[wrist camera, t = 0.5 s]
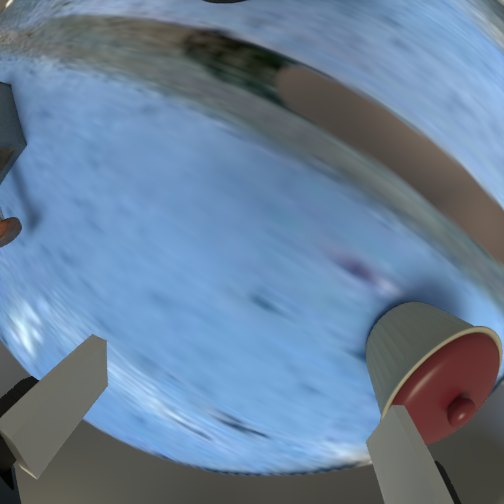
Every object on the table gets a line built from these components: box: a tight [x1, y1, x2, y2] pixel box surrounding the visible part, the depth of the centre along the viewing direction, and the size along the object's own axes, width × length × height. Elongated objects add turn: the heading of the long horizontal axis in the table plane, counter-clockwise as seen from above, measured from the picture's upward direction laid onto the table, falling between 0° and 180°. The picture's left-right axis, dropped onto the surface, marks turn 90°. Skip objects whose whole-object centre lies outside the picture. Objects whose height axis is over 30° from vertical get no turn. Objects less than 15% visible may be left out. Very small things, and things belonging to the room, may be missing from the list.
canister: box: [365, 302, 502, 445], centre depth 28 cm, size 18×18×21 cm
